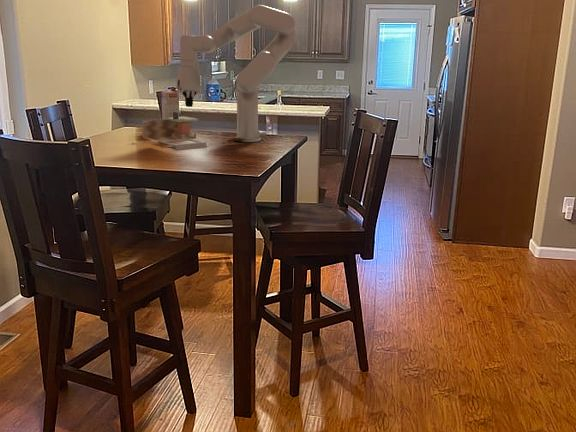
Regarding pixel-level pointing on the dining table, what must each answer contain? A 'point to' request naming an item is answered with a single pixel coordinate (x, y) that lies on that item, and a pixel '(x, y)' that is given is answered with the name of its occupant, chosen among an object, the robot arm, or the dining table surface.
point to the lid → (180, 118)
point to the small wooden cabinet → (163, 131)
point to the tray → (185, 146)
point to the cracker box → (169, 103)
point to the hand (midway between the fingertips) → (189, 106)
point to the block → (183, 127)
